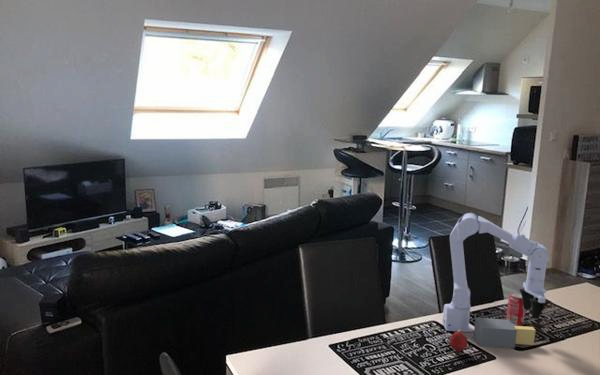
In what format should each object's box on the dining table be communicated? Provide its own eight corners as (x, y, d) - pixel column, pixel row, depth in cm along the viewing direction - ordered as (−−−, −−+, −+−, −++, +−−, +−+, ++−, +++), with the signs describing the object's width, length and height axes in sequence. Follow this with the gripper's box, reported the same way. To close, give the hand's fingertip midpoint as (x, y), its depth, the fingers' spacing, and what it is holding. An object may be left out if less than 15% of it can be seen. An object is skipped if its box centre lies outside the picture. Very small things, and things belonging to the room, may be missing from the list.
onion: (457, 357, 161) (459, 335, 160) (445, 349, 166) (447, 328, 165) (469, 353, 164) (472, 332, 162) (457, 346, 169) (459, 325, 167)
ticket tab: (487, 342, 172) (489, 327, 171) (485, 338, 174) (487, 324, 173) (533, 345, 170) (535, 330, 169) (530, 341, 173) (532, 326, 172)
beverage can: (519, 320, 190) (523, 292, 188) (525, 328, 184) (529, 298, 182) (503, 319, 191) (507, 291, 189) (508, 326, 185) (512, 297, 182)
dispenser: (479, 346, 169) (481, 327, 168) (473, 335, 177) (475, 317, 176) (516, 348, 168) (518, 330, 167) (508, 337, 176) (510, 319, 175)
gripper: (556, 286, 163) (551, 323, 166) (538, 271, 178) (534, 305, 180) (535, 285, 164) (530, 322, 166) (519, 270, 178) (514, 304, 180)
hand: (531, 313), depth 173 cm, fingers open, 7 cm apart
